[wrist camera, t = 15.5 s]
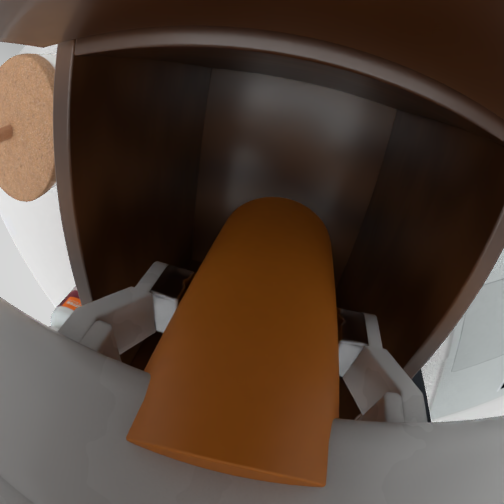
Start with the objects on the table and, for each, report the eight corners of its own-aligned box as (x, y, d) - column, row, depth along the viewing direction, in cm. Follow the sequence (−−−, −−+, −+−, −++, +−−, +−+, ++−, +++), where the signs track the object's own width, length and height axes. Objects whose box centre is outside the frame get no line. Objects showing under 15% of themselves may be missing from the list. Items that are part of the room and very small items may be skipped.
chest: (338, 296, 24) (342, 442, 13) (186, 259, 25) (110, 383, 14) (406, 102, 15) (544, 141, 4) (206, 57, 16) (57, 35, 5)
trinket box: (57, 177, 23) (-13, 220, 15) (36, 79, 17) (-41, 99, 10) (141, 153, 20) (57, 200, 13) (118, 31, 15) (25, 24, 7)
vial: (312, 301, 14) (293, 509, 6) (215, 278, 14) (132, 469, 6) (346, 213, 11) (382, 478, 3) (228, 184, 12) (77, 406, 3)
